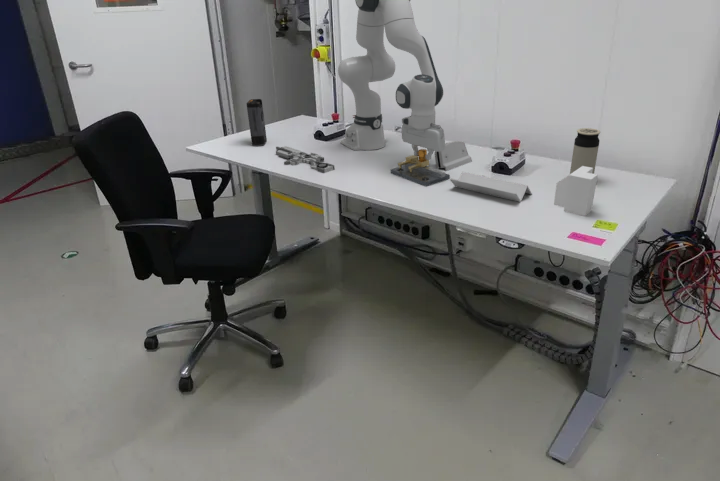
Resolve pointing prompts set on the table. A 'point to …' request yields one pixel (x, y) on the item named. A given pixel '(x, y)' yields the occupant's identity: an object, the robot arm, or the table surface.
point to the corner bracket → (577, 191)
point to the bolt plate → (419, 172)
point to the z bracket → (491, 186)
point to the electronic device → (256, 122)
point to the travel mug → (585, 149)
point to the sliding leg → (420, 160)
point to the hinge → (452, 156)
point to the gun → (303, 159)
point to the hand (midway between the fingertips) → (422, 157)
